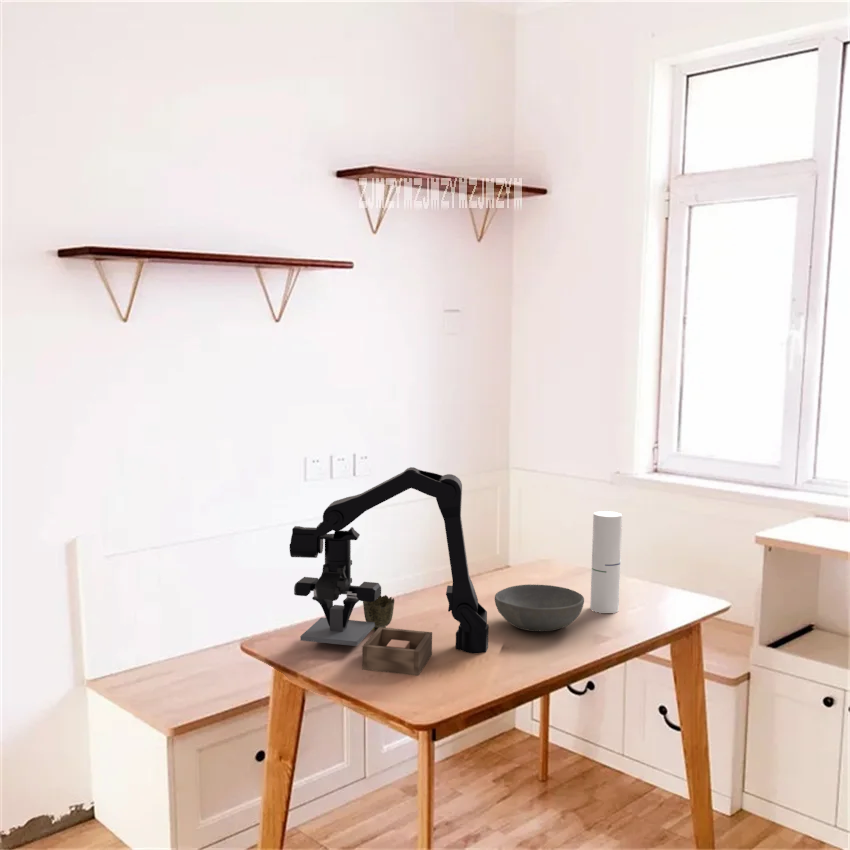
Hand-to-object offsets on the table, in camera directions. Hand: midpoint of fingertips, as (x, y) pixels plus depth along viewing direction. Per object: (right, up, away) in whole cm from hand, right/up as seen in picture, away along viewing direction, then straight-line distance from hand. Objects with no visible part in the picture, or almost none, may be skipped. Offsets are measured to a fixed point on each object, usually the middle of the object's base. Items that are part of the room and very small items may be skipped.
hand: (337, 626), depth 198 cm
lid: (0, -2, +1) cm, 2 cm away
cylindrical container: (+66, -3, +30) cm, 72 cm away
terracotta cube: (+14, -5, -10) cm, 18 cm away
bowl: (+47, -4, +16) cm, 50 cm away
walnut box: (+14, -6, -10) cm, 18 cm away
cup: (+9, -4, +11) cm, 14 cm away
